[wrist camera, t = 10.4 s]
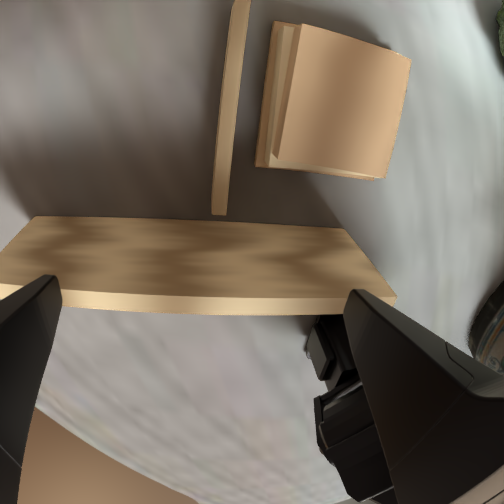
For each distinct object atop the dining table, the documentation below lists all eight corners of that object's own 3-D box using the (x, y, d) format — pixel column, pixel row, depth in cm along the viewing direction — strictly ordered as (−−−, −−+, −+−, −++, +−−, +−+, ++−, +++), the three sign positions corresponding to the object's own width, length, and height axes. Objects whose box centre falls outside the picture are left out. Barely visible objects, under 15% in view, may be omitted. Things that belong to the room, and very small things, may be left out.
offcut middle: (389, 55, 16) (401, 55, 15) (371, 171, 20) (381, 178, 19) (278, 30, 15) (284, 25, 14) (264, 160, 19) (269, 166, 17)
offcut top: (397, 59, 15) (411, 59, 14) (373, 170, 18) (385, 178, 17) (294, 27, 14) (302, 23, 12) (272, 153, 17) (277, 159, 16)
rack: (380, 40, 16) (463, 34, 9) (340, 241, 23) (390, 311, 16) (32, 22, 12) (-45, 9, 5) (36, 229, 19) (-18, 296, 12)
